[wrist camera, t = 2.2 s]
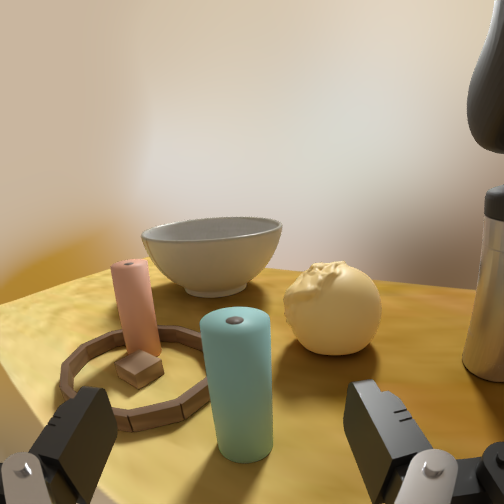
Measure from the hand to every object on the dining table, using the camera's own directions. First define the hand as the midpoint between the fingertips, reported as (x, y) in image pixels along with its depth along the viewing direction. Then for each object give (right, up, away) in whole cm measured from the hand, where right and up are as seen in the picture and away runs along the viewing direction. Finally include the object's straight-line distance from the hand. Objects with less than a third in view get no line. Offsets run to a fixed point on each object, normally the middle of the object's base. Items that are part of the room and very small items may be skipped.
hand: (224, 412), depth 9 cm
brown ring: (-12, -9, +25) cm, 29 cm away
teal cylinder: (0, -11, +14) cm, 18 cm away
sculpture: (+11, -7, +31) cm, 33 cm away
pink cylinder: (-13, -8, +30) cm, 34 cm away
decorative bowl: (-6, -2, +55) cm, 55 cm away
